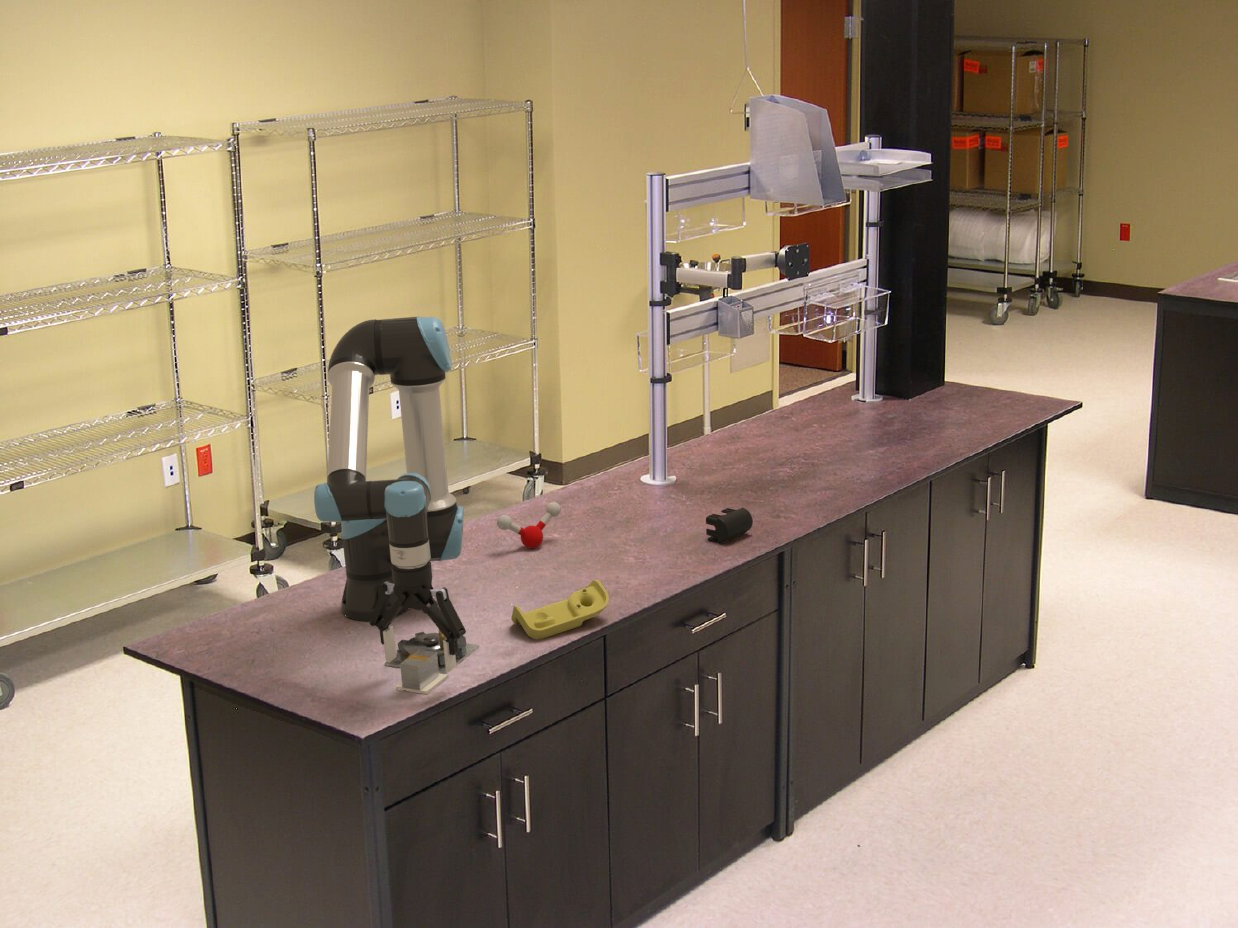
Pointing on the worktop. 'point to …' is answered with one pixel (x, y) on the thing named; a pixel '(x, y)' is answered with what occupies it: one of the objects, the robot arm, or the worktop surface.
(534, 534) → the molecular model
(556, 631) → the plastic component
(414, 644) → the sprocket
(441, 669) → the sprocket base
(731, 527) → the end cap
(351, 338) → the robot arm
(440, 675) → the marked pad
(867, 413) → the worktop surface
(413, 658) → the link block
